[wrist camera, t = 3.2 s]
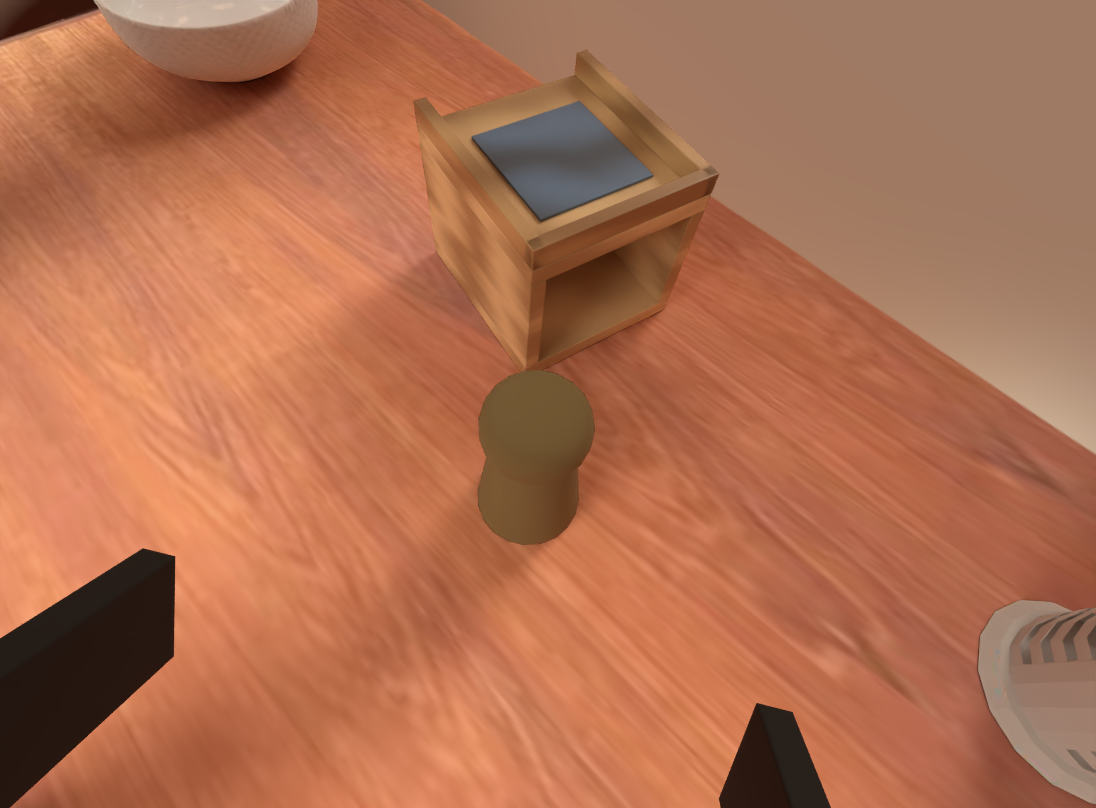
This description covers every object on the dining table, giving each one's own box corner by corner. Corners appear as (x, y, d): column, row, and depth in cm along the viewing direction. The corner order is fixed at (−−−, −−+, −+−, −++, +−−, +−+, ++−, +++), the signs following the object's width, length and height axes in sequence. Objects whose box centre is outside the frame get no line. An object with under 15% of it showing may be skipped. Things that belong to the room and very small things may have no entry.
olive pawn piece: (544, 432, 35) (560, 328, 25) (598, 511, 32) (638, 432, 23) (459, 477, 33) (441, 384, 23) (509, 565, 31) (512, 503, 21)
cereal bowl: (207, 141, 45) (160, 52, 39) (102, 53, 50) (45, -39, 43) (370, 62, 52) (352, -25, 46) (264, -9, 56) (235, -97, 50)
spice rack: (435, 250, 41) (412, 100, 31) (567, 199, 45) (586, 49, 35) (524, 378, 36) (533, 251, 26) (664, 309, 40) (720, 173, 30)
